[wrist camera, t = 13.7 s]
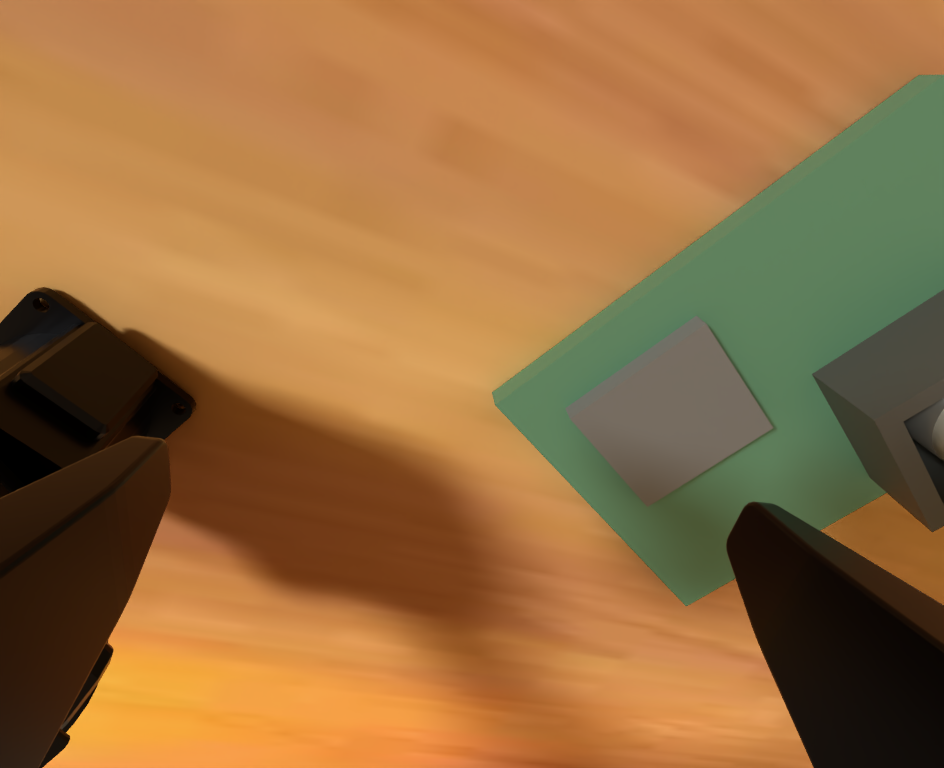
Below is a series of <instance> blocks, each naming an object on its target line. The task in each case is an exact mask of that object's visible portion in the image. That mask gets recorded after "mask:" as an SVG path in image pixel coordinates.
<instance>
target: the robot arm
mask: <svg viewBox="0 0 944 768" xmlns="http://www.w3.org/2000/svg"><path fill="white" fill-rule="evenodd" d="M40 298H42V299H44V300H46V301H47V303H48V304H49V307H50V308H47V307H45V306H43V305H42V304H41V303H40ZM175 403H179V404H182V405H183V406H184V407H185V409H180V408H178V407H177V406H176V404H175ZM195 409H196V403H195V401H194V399H193V398H192V397H191V396H190V395H188V394H187V393H186V392H185V391H183V390H182V389H181V388H179V387H178V386H177V385H176V384H174V383H173V382H172V381H170V380H169V379H168V378H167V377H165V376H164V375H163V374H161V373H160V372H159V371H158V370H157V369H156V368H155V367H154V366H153V365H152V364H150V363H149V362H148V361H147V360H145V359H144V358H143V357H141V356H140V355H139V354H138V353H136V352H135V351H134V350H132V349H131V348H130V347H129V346H127V345H126V344H125V343H123V342H122V341H121V340H120V339H118V338H117V337H116V336H114V335H113V334H112V333H111V332H109V331H108V330H107V329H105V328H104V327H103V326H102V325H100V324H99V323H96V322H94V321H93V320H92V319H91V318H89V317H88V316H87V315H85V314H84V313H83V312H82V311H80V310H79V309H78V308H76V307H75V306H74V305H73V304H71V303H70V302H69V301H67V300H66V299H65V298H63V297H62V296H61V295H60V294H58V293H57V292H55V291H54V290H52V289H50V288H45V287H42V288H37V289H36V290H34V291H32V292H30V293H29V294H27V295H26V296H25V297H24V298H23V299H22V300H21V301H20V302H19V304H18V305H17V306H16V307H15V308H14V309H13V310H12V311H11V312H10V313H9V314H8V315H7V316H6V317H5V319H4V320H3V321H2V322H1V323H0V768H42V767H44V766H45V765H46V764H47V763H48V762H49V761H50V760H52V759H53V758H54V757H55V756H56V755H57V754H59V753H60V752H61V751H62V750H63V749H64V748H65V747H66V745H67V744H68V742H69V740H70V736H69V735H68V734H67V733H66V732H67V731H68V730H69V728H70V727H71V726H72V725H73V724H74V723H75V721H76V720H77V718H78V717H79V716H80V714H81V713H82V711H83V710H84V709H85V707H86V706H87V704H88V703H89V701H90V699H91V697H92V695H93V693H94V691H95V689H96V688H97V685H98V683H99V681H100V679H101V677H102V676H103V674H104V672H105V670H106V669H107V667H108V665H109V663H110V660H111V657H112V654H113V648H112V646H111V645H110V644H108V639H109V637H110V635H111V633H112V631H113V629H114V628H115V626H116V624H117V622H118V620H119V618H120V616H121V614H122V612H123V610H124V608H125V606H126V604H127V603H128V601H129V598H130V596H131V594H132V591H133V589H134V587H135V584H136V582H137V579H138V577H139V574H140V572H141V569H142V567H143V564H144V562H145V559H146V557H147V554H148V552H149V549H150V547H151V544H152V542H153V539H154V537H155V534H156V531H157V529H158V526H159V524H160V521H161V519H162V516H163V514H164V511H165V509H166V506H167V504H168V501H169V497H170V492H171V479H170V463H169V449H168V445H167V442H166V441H165V440H164V439H165V438H167V437H168V436H169V435H170V434H171V433H172V432H173V431H175V430H176V429H177V428H178V427H179V426H180V425H181V424H183V423H184V422H185V421H186V420H187V419H188V418H189V417H190V416H191V414H192V413H193V412H194V410H195ZM726 549H727V554H728V557H729V560H730V563H731V566H732V569H733V572H734V575H735V578H736V581H737V584H738V587H739V590H740V593H741V596H742V599H743V602H744V604H745V607H746V610H747V613H748V616H749V619H750V622H751V625H752V628H753V631H754V633H755V636H756V639H757V641H758V644H759V646H760V648H761V651H762V653H763V655H764V658H765V660H766V662H767V664H768V667H769V669H770V671H771V673H772V676H773V678H774V680H775V682H776V684H777V687H778V689H779V691H780V693H781V696H782V698H783V700H784V702H785V705H786V707H787V709H788V711H789V714H790V716H791V718H792V720H793V723H794V725H795V727H796V729H797V731H798V734H799V736H800V738H801V740H802V743H803V745H804V747H805V749H806V752H807V754H808V756H809V758H810V761H811V763H812V765H813V767H814V768H944V605H942V604H941V603H939V602H937V601H936V600H934V599H932V598H931V597H929V596H927V595H926V594H924V593H922V592H921V591H919V590H917V589H916V588H914V587H912V586H911V585H909V584H907V583H906V582H904V581H902V580H901V579H899V578H897V577H896V576H894V575H892V574H891V573H889V572H887V571H886V570H884V569H882V568H881V567H879V566H877V565H876V564H874V563H872V562H871V561H869V560H867V559H866V558H864V557H862V556H861V555H859V554H857V553H856V552H854V551H852V550H851V549H849V548H848V547H846V546H844V545H843V544H841V543H839V542H838V541H836V540H834V539H833V538H831V537H829V536H828V535H826V534H824V533H823V532H821V531H819V530H818V529H816V528H814V527H813V526H811V525H809V524H808V523H806V522H804V521H803V520H801V519H799V518H798V517H796V516H794V515H793V514H791V513H789V512H788V511H786V510H784V509H783V508H781V507H779V506H778V505H776V504H772V503H764V502H755V501H753V502H749V503H748V504H746V505H745V506H744V508H743V509H742V511H741V513H740V515H739V517H738V519H737V520H736V522H735V524H734V526H733V528H732V530H731V532H730V534H729V536H728V538H727V542H726Z"/></svg>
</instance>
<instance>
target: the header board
mask: <svg viewBox="0 0 944 768" xmlns="http://www.w3.org/2000/svg"><path fill="white" fill-rule="evenodd" d="M492 394H493V398H494V402H495V405H496V406H497V407H498V409H499V410H500V411H501V412H502V413H503V414H504V415H505V416H506V417H507V418H508V419H509V420H510V421H511V422H512V423H513V424H514V425H515V426H516V427H517V429H518V430H519V431H520V432H521V433H522V434H523V435H524V436H525V437H526V438H527V439H528V440H529V441H530V442H531V443H532V444H533V445H534V446H535V448H536V449H537V450H538V451H539V452H540V453H541V454H542V455H543V456H544V457H545V458H546V459H547V460H548V461H549V462H550V463H551V464H552V465H553V466H554V468H555V469H556V470H557V471H558V472H559V473H560V474H561V475H562V476H563V477H564V478H565V479H566V480H567V481H568V482H569V483H570V484H571V485H572V487H573V488H574V489H575V490H576V491H577V492H578V493H579V494H580V495H581V496H582V497H583V498H584V499H585V500H586V501H587V502H588V503H589V504H590V505H591V507H592V508H593V509H594V510H595V511H596V512H597V513H598V514H599V515H600V516H601V517H602V518H603V519H604V520H605V521H606V522H607V523H608V524H609V526H610V527H611V528H612V529H613V530H614V531H615V532H616V533H617V534H618V535H619V536H620V537H621V538H622V539H623V540H624V541H625V542H626V543H627V544H628V546H629V547H630V548H631V549H632V550H633V551H634V552H635V553H636V554H637V555H638V556H639V557H640V558H641V559H642V560H643V561H644V562H645V563H646V565H647V566H648V567H649V568H650V569H651V570H652V571H653V572H654V573H655V574H656V575H657V576H658V577H659V578H660V579H661V580H662V581H663V582H664V583H665V585H666V586H667V587H668V588H669V589H670V590H671V591H672V592H673V593H674V594H675V595H676V596H677V597H678V598H679V599H680V600H681V601H682V602H683V604H684V605H685V606H688V605H689V604H691V603H693V602H695V601H697V600H698V599H700V598H702V597H704V596H705V595H707V594H709V593H711V592H712V591H714V590H716V589H718V588H719V587H721V586H723V585H725V584H727V583H728V582H730V581H732V580H734V579H735V575H734V572H733V569H732V566H731V563H730V560H729V557H728V554H727V549H726V542H727V538H728V536H729V534H730V532H731V530H732V528H733V526H734V524H735V522H736V520H737V519H738V517H739V515H740V513H741V511H742V509H743V508H744V506H745V505H746V504H748V503H749V502H753V501H755V502H764V503H772V504H776V505H778V506H779V507H781V508H783V509H784V510H786V511H788V512H789V513H791V514H793V515H794V516H796V517H798V518H799V519H801V520H803V521H804V522H806V523H808V524H809V525H811V526H813V527H814V528H816V529H818V530H819V531H820V530H822V529H824V528H825V527H827V526H829V525H831V524H832V523H834V522H836V521H838V520H839V519H841V518H843V517H845V516H847V515H848V514H850V513H852V512H854V511H855V510H857V509H859V508H861V507H862V506H864V505H866V504H868V503H869V502H871V501H873V500H875V499H876V498H878V497H880V496H882V495H884V494H885V493H888V494H889V495H890V496H891V497H892V498H894V499H895V500H896V501H897V502H898V503H899V504H901V505H902V506H903V507H904V508H905V509H906V510H907V511H909V512H910V513H911V514H912V515H913V516H914V517H915V518H917V519H918V520H919V521H920V522H921V523H922V524H923V525H925V526H926V527H927V528H928V529H929V530H930V531H931V532H934V531H935V530H937V529H939V528H941V527H943V526H944V461H943V460H942V459H940V458H939V457H937V456H936V455H934V454H933V453H932V452H930V451H929V450H927V449H926V448H925V447H923V446H922V445H920V444H919V443H918V442H916V441H915V440H913V439H912V438H911V436H910V434H909V432H908V430H907V428H906V426H905V424H904V422H903V421H905V420H907V419H909V418H910V417H912V416H914V415H915V414H917V413H919V412H920V411H922V410H924V409H925V408H927V407H929V406H930V405H932V404H934V403H935V402H937V401H939V400H940V399H942V398H944V75H918V76H917V77H916V78H914V79H913V80H912V81H910V82H909V83H908V84H906V85H905V86H904V87H902V88H901V89H900V90H898V91H897V92H896V93H894V94H893V95H892V96H890V97H889V98H888V99H886V100H885V101H883V102H882V103H881V104H879V105H878V106H877V107H875V108H874V109H873V110H871V111H870V112H869V113H867V114H866V115H865V116H863V117H862V118H861V119H859V120H858V121H857V122H855V123H854V124H853V125H851V126H850V127H849V128H847V129H846V130H844V131H843V132H842V133H840V134H839V135H838V136H836V137H835V138H834V139H832V140H831V141H830V142H828V143H827V144H826V145H824V146H823V147H822V148H820V149H819V150H818V151H816V152H815V153H814V154H812V155H811V156H810V157H808V158H807V159H806V160H804V161H803V162H801V163H800V164H799V165H797V166H796V167H795V168H793V169H792V170H791V171H789V172H788V173H787V174H785V175H784V176H783V177H781V178H780V179H779V180H777V181H776V182H775V183H773V184H772V185H771V186H769V187H768V188H767V189H765V190H764V191H763V192H761V193H760V194H758V195H757V196H756V197H754V198H753V199H752V200H750V201H749V202H748V203H746V204H745V205H744V206H742V207H741V208H740V209H738V210H737V211H736V212H734V213H733V214H732V215H730V216H729V217H728V218H726V219H725V220H724V221H722V222H721V223H719V224H718V225H717V226H715V227H714V228H713V229H711V230H710V231H709V232H707V233H706V234H705V235H703V236H702V237H701V238H699V239H698V240H697V241H695V242H694V243H693V244H691V245H690V246H689V247H687V248H686V249H685V250H683V251H682V252H681V253H679V254H678V255H676V256H675V257H674V258H672V259H671V260H670V261H668V262H667V263H666V264H664V265H663V266H662V267H660V268H659V269H658V270H656V271H655V272H654V273H652V274H651V275H650V276H648V277H647V278H646V279H644V280H643V281H642V282H640V283H639V284H637V285H636V286H635V287H633V288H632V289H631V290H629V291H628V292H627V293H625V294H624V295H623V296H621V297H620V298H619V299H617V300H616V301H615V302H613V303H612V304H611V305H609V306H608V307H607V308H605V309H604V310H603V311H601V312H600V313H599V314H597V315H596V316H594V317H593V318H592V319H590V320H589V321H588V322H586V323H585V324H584V325H582V326H581V327H580V328H578V329H577V330H576V331H574V332H573V333H572V334H570V335H569V336H568V337H566V338H565V339H564V340H562V341H561V342H560V343H558V344H557V345H555V346H554V347H553V348H551V349H550V350H549V351H547V352H546V353H545V354H543V355H542V356H541V357H539V358H538V359H537V360H535V361H534V362H533V363H531V364H530V365H529V366H527V367H526V368H525V369H523V370H522V371H521V372H519V373H518V374H517V375H515V376H514V377H512V378H511V379H510V380H508V381H507V382H506V383H504V384H503V385H502V386H500V387H499V388H498V389H496V390H495V391H494V392H492Z"/></svg>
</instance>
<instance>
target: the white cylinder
mask: <svg viewBox="0 0 944 768" xmlns="http://www.w3.org/2000/svg"><path fill="white" fill-rule="evenodd" d="M903 422H904V424H905V426H906V428H907V430H908V432H909V434H910V436H911V438H912V439H913V440H915V441H916V442H918V443H919V444H920V445H922V446H923V447H925V448H926V449H927V450H929V451H930V452H932V453H933V454H934V455H936V456H937V457H939V458H940V459H942V460H943V461H944V398H942V399H940V400H939V401H937V402H935V403H934V404H932V405H930V406H929V407H927V408H925V409H924V410H922V411H920V412H919V413H917V414H915V415H914V416H912V417H910V418H909V419H907V420H905V421H903Z"/></svg>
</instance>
